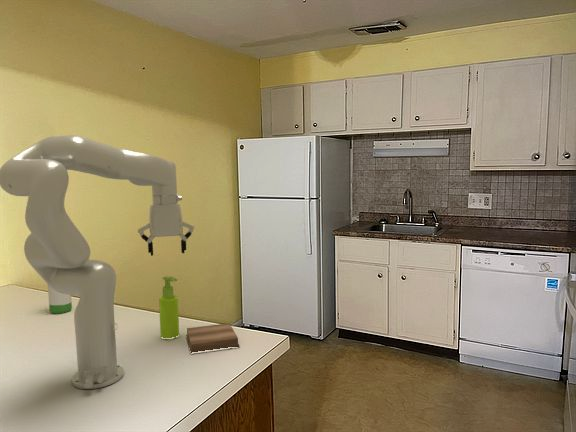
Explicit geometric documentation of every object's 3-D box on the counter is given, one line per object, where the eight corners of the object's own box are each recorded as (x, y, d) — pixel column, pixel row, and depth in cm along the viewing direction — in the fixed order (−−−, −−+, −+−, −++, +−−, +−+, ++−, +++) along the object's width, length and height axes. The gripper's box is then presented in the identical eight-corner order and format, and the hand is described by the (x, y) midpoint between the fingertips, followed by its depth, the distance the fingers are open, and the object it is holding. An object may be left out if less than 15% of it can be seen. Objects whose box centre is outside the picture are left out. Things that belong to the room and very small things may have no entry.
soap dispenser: (170, 342, 141) (167, 280, 139) (157, 337, 146) (154, 277, 143) (185, 336, 146) (182, 276, 144) (171, 331, 150) (169, 273, 148)
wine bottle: (52, 309, 176) (46, 234, 173) (73, 307, 178) (68, 233, 175) (47, 315, 169) (41, 237, 165) (70, 313, 171) (64, 235, 168)
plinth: (239, 347, 136) (239, 338, 136) (190, 354, 132) (190, 344, 132) (230, 331, 150) (230, 322, 150) (186, 336, 146) (185, 328, 145)
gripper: (191, 198, 147) (193, 249, 149) (136, 200, 142) (139, 253, 144) (194, 200, 140) (196, 253, 142) (136, 202, 135) (139, 258, 137)
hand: (167, 253), depth 143 cm, fingers open, 9 cm apart
